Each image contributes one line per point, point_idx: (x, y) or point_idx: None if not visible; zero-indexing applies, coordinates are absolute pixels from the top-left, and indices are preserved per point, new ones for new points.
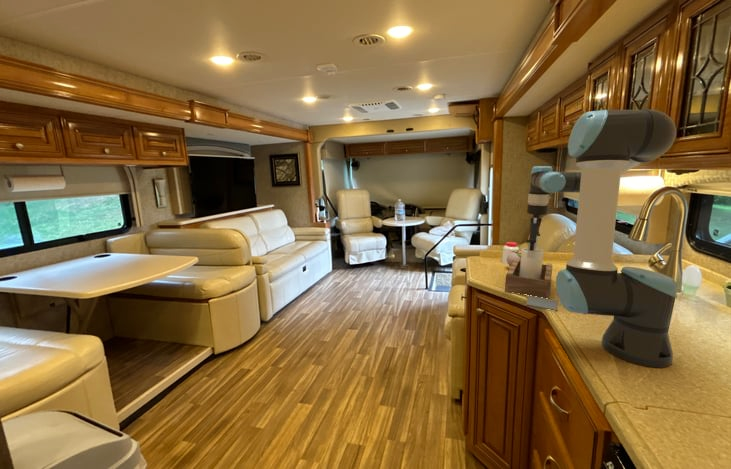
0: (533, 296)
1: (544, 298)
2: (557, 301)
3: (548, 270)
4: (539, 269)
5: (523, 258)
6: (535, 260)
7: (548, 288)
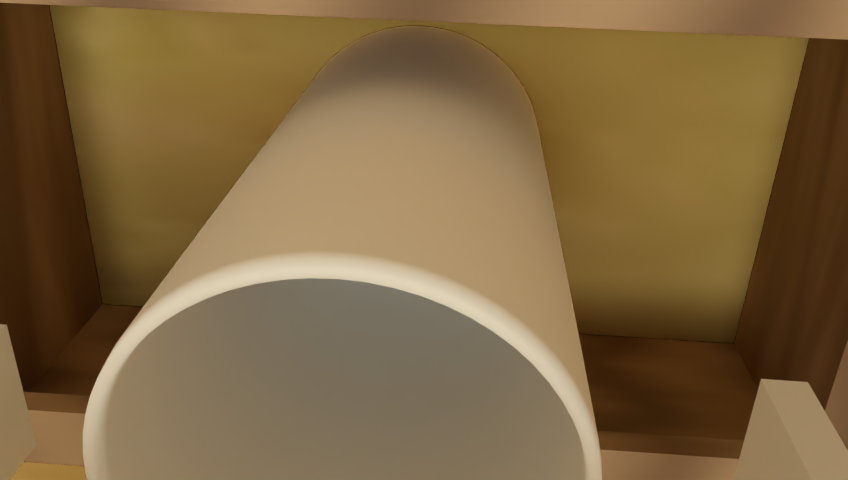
0: None
1: None
2: None
3: None
4: (303, 377)
5: (213, 218)
6: (187, 417)
7: None
